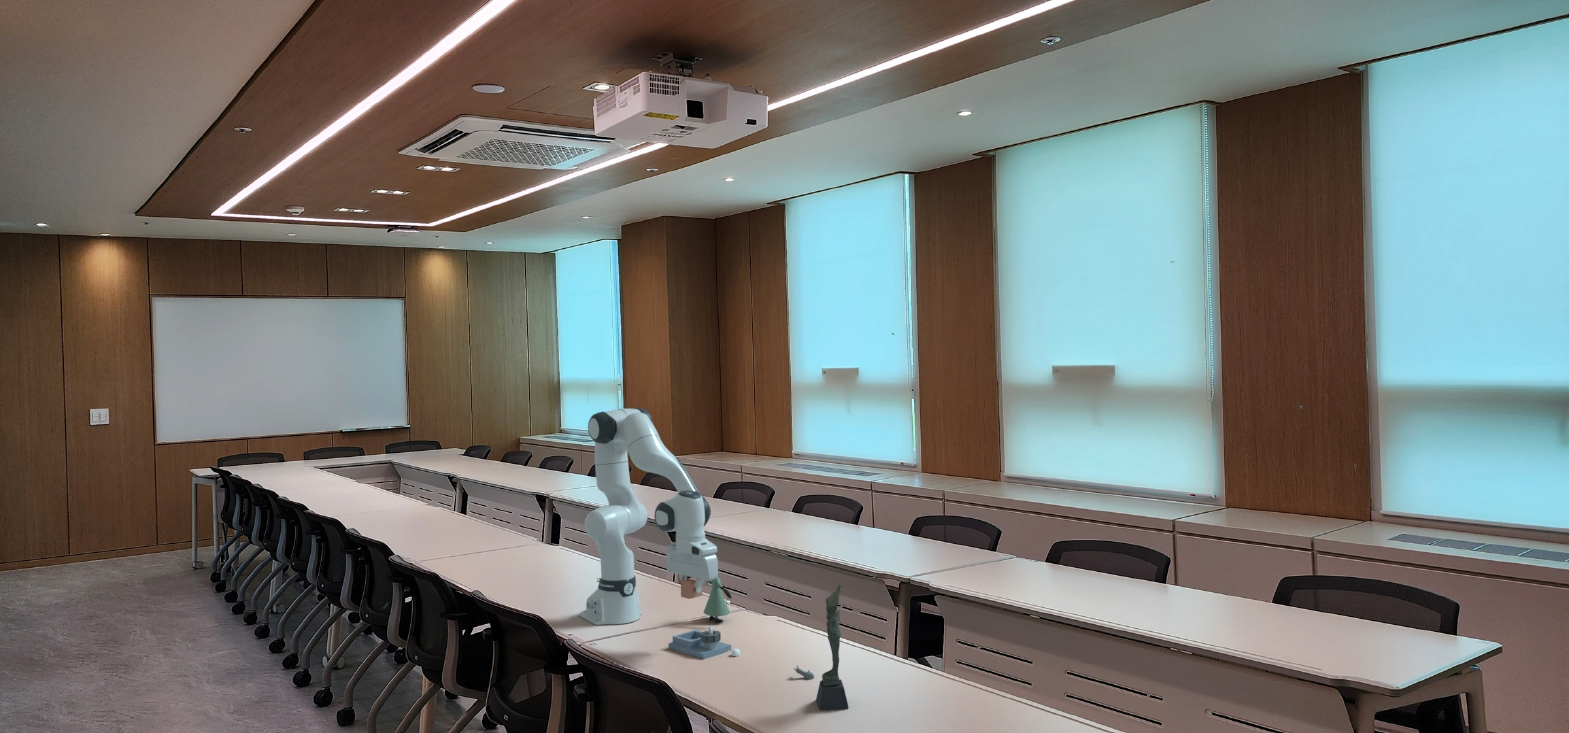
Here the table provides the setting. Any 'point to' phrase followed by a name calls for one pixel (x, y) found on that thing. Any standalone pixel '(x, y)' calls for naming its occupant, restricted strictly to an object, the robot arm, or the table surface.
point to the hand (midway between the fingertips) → (691, 590)
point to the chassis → (697, 645)
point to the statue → (830, 685)
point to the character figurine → (716, 600)
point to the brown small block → (689, 588)
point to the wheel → (710, 636)
